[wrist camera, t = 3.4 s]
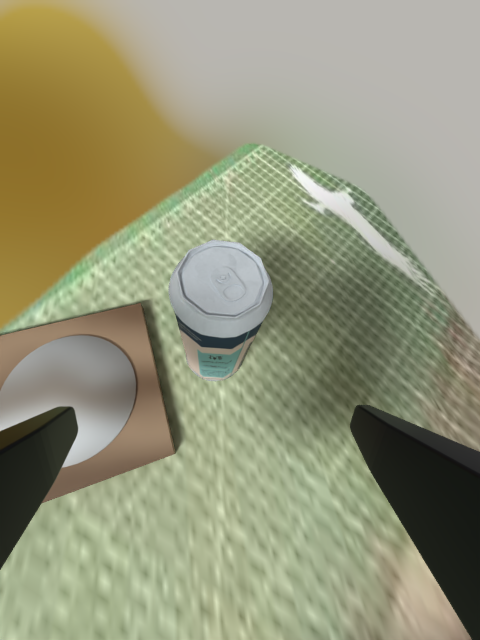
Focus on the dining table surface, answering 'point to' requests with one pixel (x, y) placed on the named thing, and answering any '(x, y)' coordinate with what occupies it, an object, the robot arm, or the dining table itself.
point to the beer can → (219, 305)
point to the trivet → (90, 392)
